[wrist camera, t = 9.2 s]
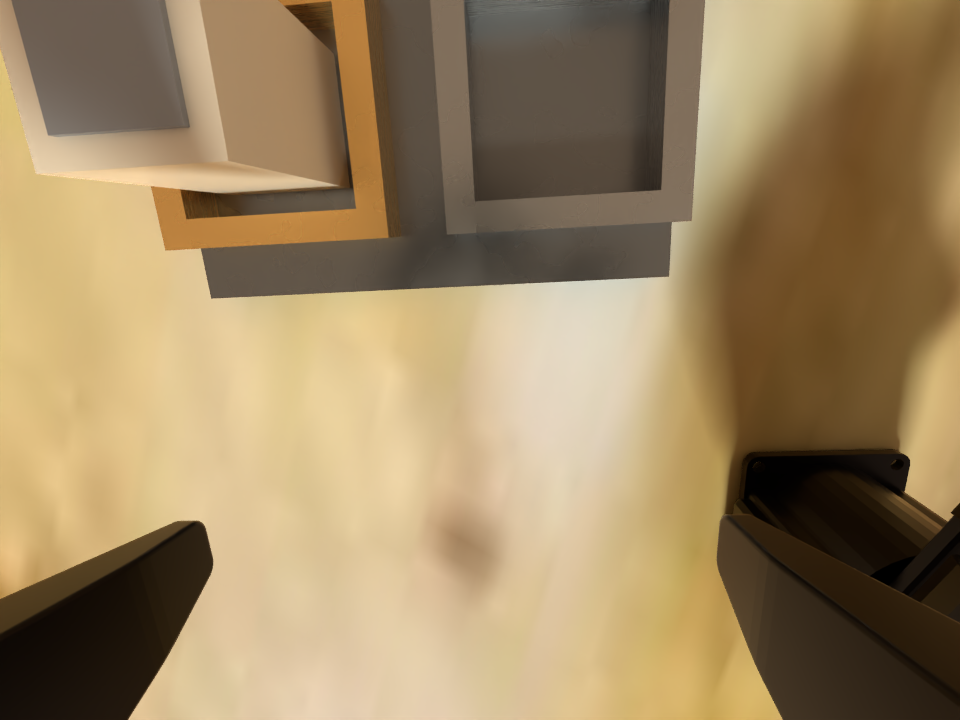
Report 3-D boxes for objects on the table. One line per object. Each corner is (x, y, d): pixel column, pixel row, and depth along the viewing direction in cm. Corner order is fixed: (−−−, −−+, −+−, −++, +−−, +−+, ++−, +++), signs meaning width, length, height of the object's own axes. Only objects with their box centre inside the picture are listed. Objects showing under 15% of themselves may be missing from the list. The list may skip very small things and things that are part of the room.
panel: (677, -96, 16) (715, -168, 13) (660, 273, 19) (687, 282, 16) (158, -42, 17) (87, -95, 14) (225, 294, 20) (178, 306, 17)
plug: (334, 54, 17) (175, -98, 9) (349, 187, 18) (223, 159, 10) (213, 64, 17) (-44, -74, 9) (236, 195, 18) (27, 173, 10)
